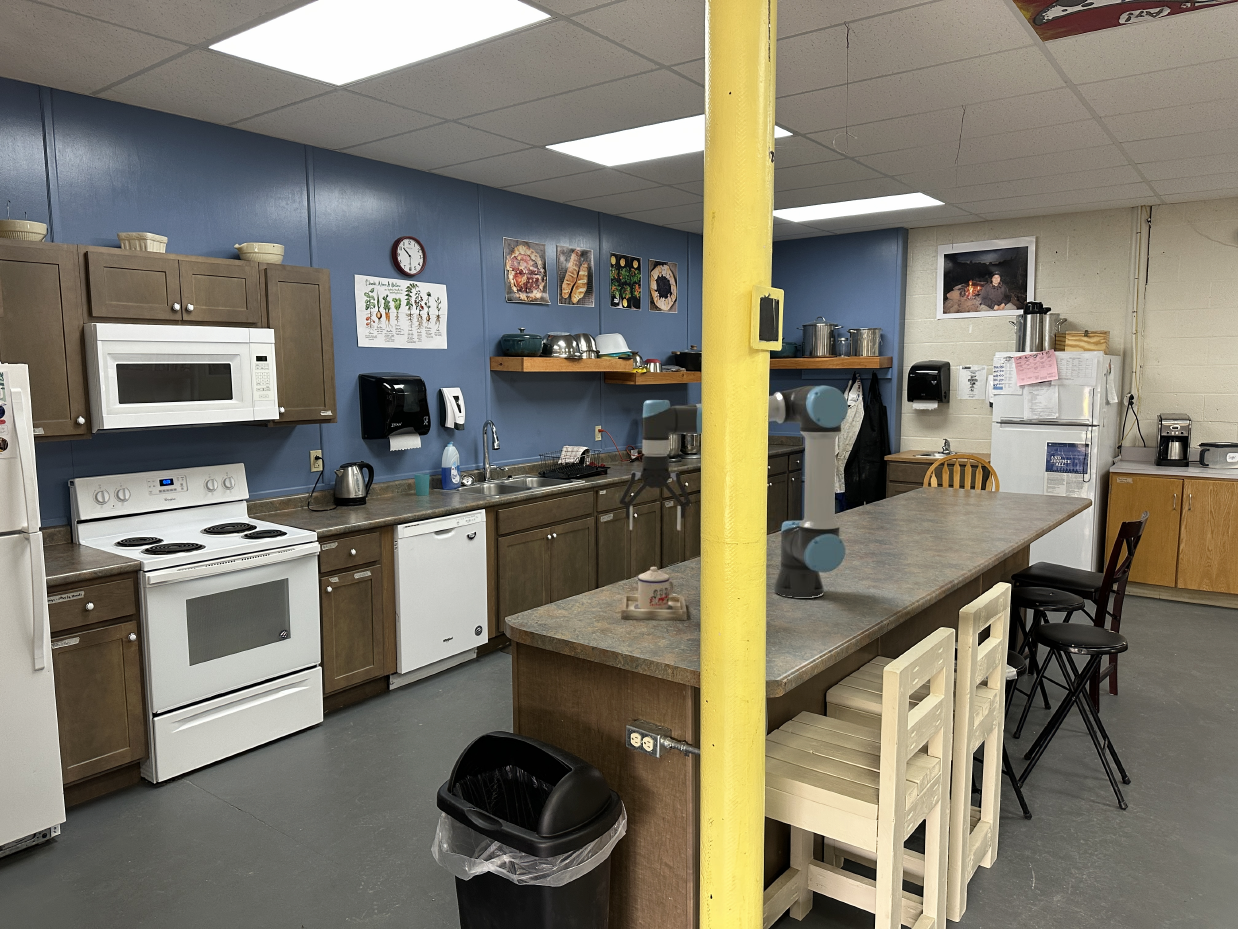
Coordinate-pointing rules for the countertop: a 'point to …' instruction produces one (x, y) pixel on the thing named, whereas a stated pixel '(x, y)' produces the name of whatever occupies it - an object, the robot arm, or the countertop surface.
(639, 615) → the birch tray
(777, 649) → the countertop surface
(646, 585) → the teacup with lid
